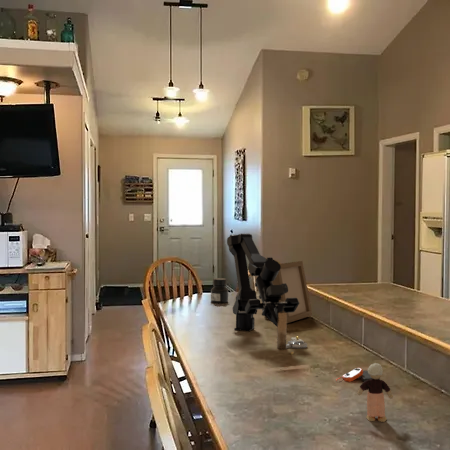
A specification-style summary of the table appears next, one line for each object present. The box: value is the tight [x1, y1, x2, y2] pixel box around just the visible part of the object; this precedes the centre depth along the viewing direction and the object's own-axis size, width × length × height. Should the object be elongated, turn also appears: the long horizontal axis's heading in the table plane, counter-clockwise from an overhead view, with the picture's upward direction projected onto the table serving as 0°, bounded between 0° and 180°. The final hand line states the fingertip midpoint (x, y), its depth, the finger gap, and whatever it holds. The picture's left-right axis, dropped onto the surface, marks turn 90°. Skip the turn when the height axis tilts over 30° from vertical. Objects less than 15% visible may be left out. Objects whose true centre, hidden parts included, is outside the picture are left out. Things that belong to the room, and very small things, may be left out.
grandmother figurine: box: [356, 362, 394, 423], centre depth 119 cm, size 8×4×13 cm, turn 92°
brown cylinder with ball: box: [276, 312, 308, 350], centre depth 178 cm, size 6×11×12 cm, turn 118°
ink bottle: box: [210, 277, 229, 304], centre depth 272 cm, size 10×9×12 cm
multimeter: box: [337, 367, 381, 383], centre depth 147 cm, size 18×12×3 cm, turn 91°
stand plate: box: [290, 335, 305, 355], centre depth 181 cm, size 20×15×2 cm
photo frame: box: [263, 260, 313, 324], centre depth 230 cm, size 15×22×25 cm
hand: (278, 326), depth 178 cm, fingers closed, pressing on brown cylinder with ball
